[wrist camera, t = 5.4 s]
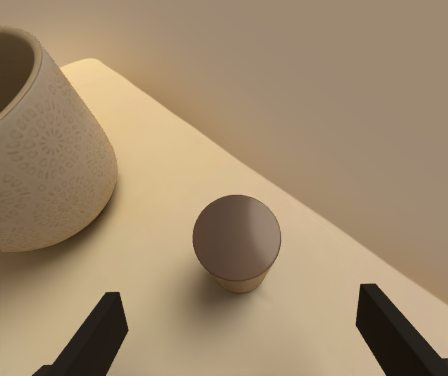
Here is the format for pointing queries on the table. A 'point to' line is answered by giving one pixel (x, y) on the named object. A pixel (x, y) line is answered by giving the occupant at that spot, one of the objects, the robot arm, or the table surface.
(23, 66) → the planter
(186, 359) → the table surface
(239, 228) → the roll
